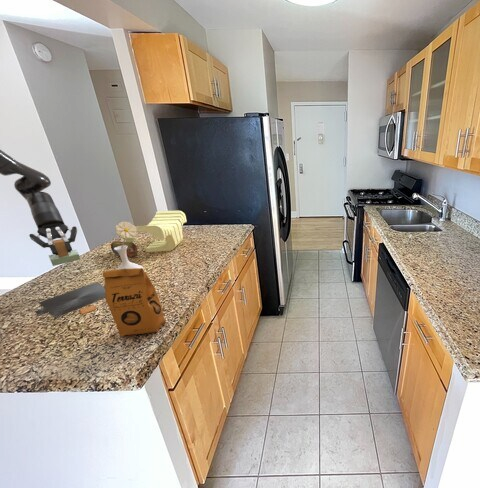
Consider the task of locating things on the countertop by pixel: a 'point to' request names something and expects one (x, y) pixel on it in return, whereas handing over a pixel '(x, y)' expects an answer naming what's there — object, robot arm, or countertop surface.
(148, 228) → the slatted curved stool
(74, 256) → the scrub brush
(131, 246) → the multicolored arch
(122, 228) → the flower in vase
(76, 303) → the griddle pan
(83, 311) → the orange flat rounded piece
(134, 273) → the coffee package
